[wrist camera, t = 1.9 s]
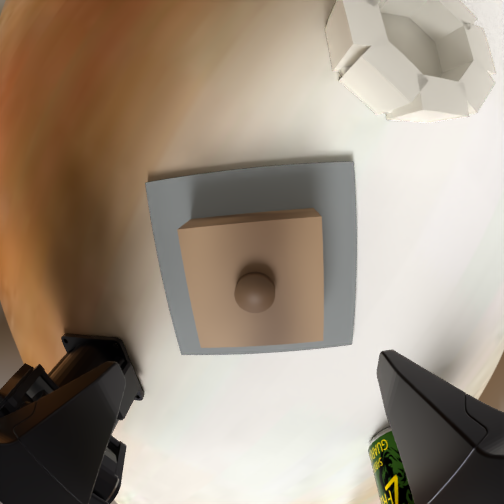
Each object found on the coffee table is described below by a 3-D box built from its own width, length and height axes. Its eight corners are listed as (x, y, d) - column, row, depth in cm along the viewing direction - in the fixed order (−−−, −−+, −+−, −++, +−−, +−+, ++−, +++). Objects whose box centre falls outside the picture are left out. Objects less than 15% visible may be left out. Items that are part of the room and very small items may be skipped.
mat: (182, 351, 20) (181, 354, 20) (147, 182, 16) (145, 182, 16) (350, 341, 19) (351, 344, 19) (351, 161, 15) (353, 161, 15)
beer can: (422, 417, 22) (460, 509, 10) (403, 447, 23) (429, 530, 12) (376, 425, 22) (405, 529, 10) (360, 454, 23) (379, 546, 12)
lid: (208, 324, 19) (198, 353, 16) (190, 219, 17) (173, 232, 13) (316, 317, 18) (324, 346, 15) (313, 208, 16) (324, 218, 13)
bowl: (339, 119, 15) (363, 105, 10) (316, -7, 12) (327, -45, 8) (462, 127, 14) (504, 124, 10) (436, 12, 11) (467, -11, 7)
